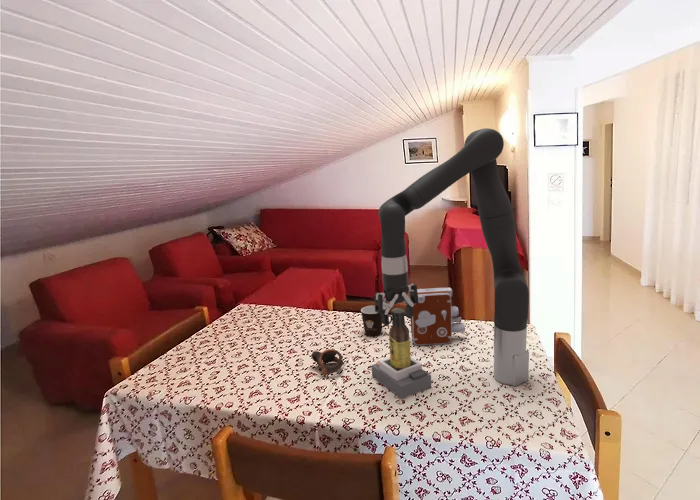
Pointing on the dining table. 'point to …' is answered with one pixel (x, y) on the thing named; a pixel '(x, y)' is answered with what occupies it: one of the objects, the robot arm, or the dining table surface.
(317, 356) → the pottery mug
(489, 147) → the robot arm
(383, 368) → the retro computer monitor
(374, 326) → the coffee mug
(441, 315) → the cine camera
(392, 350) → the sauce bottle
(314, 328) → the dining table surface
